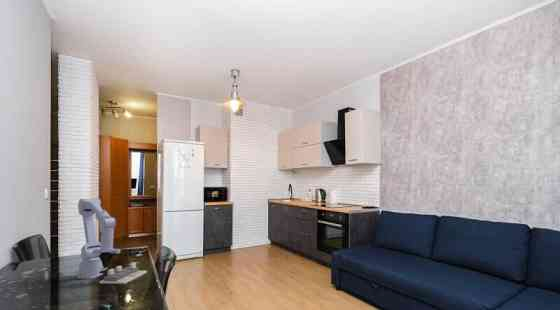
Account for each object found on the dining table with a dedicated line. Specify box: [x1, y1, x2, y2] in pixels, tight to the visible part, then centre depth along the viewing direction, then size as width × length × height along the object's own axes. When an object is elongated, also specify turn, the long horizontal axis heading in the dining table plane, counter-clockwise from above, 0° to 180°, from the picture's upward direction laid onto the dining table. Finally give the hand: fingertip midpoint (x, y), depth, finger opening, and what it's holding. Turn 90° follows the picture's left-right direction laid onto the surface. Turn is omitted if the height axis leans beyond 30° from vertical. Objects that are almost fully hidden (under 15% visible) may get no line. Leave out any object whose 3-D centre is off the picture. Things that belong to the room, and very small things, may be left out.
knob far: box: [129, 262, 137, 269], centre depth 157 cm, size 2×3×2 cm, turn 173°
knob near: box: [107, 268, 116, 276], centre depth 146 cm, size 2×3×2 cm, turn 173°
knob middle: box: [115, 265, 123, 272], centre depth 152 cm, size 2×3×2 cm, turn 173°
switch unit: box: [99, 266, 148, 285], centre depth 151 cm, size 14×19×3 cm
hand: (105, 267), depth 147 cm, fingers closed
